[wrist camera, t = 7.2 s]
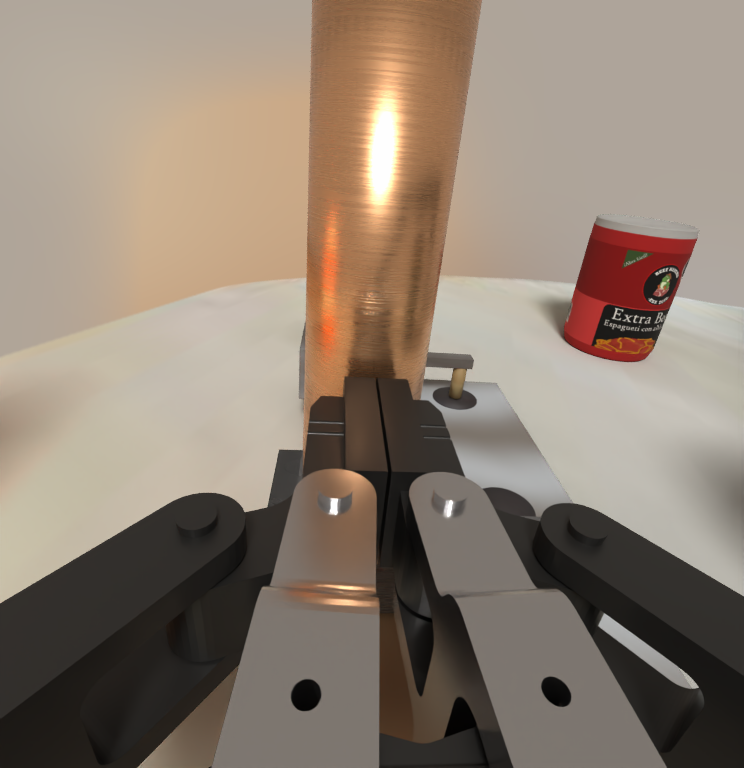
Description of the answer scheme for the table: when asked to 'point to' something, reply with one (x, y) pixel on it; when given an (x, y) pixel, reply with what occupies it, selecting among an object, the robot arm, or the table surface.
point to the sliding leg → (378, 195)
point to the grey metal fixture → (506, 493)
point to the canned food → (627, 285)
